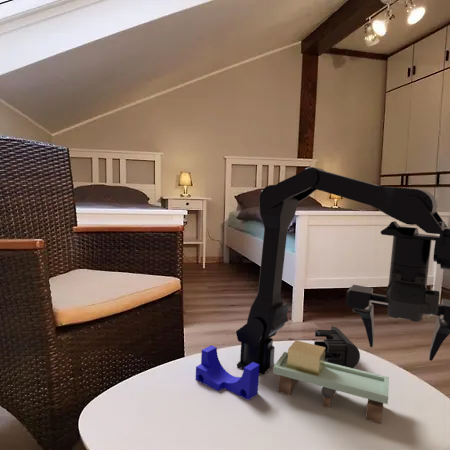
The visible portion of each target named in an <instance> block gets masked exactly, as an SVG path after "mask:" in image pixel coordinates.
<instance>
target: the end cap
mask: <svg viewBox="0 0 450 450" xmlns="http://www.w3.org/2000/svg"><path fill="white" fill-rule="evenodd" d="M314 337H317V338H318V337H319V338H320V337H321V338H325V339H323V340H314V343H313V345H317V346H322V347H326V349H325V360H324V362H328V363H332V364H337V365H341V366H345V367H349V368H353V369H355V367H356V366H358V364H359V362H360V359H361V352H360V351H359V349H358V347H357V346H356V345H355V344H354V343H353V341H351V339H350V338H348V337H347V335H346V334H344V332H343V331H342V330H340V328H338V327H336V326H333V325H331V327H330V329H315V331H314Z"/></svg>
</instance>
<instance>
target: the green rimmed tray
mask: <svg viewBox="0 0 450 450" xmlns="http://www.w3.org/2000/svg"><path fill="white" fill-rule="evenodd" d="M287 359H288V351H283V353H282V354H281V356H280V357H279V358H278V360H277V362H276V363H275V364H274V366H273V374H275V375H277V376H279V375H281V376H285V377H289V378H292V379H296V380H299V381H301V382H303V383H308V384H312V385H314V386H318V387H322V388H323V387H326V388H329V389H333V390H336V392H341V393H345V394H348V395H352V396H356V397H360V398H362V399H367V400H368V399H370V400H374V401H378V402H381V403H383V404H386V405H388V404H389V390H390V388H389V387H390V376H385V375H381V374H377V373H373V372H369V371H365V370H361V369H358V368H349V367H345V366H341V365H337V364H332V363H328V362H324V368H323V370H322V371H321V373H320V375H319V376H316V375H312V374H308V373H304V372H301V371H297V370H293V369H289V368H287Z"/></svg>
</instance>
